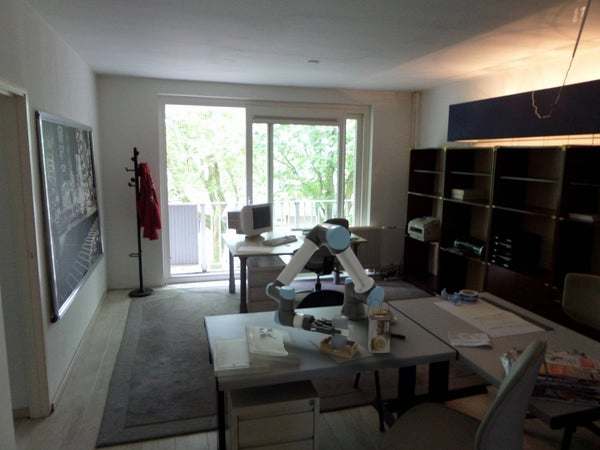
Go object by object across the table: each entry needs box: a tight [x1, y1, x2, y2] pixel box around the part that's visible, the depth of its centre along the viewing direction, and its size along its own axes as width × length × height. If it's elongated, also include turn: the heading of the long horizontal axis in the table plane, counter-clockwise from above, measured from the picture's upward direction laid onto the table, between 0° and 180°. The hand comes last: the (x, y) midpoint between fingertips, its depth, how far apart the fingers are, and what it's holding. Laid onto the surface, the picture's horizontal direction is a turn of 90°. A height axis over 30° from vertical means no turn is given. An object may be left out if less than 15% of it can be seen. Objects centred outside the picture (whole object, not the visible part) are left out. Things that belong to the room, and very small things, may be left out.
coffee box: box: [367, 314, 392, 354], centre depth 196 cm, size 9×6×16 cm
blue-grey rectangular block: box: [328, 314, 350, 349], centre depth 194 cm, size 5×10×15 cm, turn 64°
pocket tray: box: [318, 335, 359, 359], centre depth 195 cm, size 10×16×4 cm
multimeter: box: [366, 297, 394, 339], centre depth 210 cm, size 15×10×20 cm
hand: (350, 331), depth 192 cm, fingers closed on blue-grey rectangular block, 5 cm apart
